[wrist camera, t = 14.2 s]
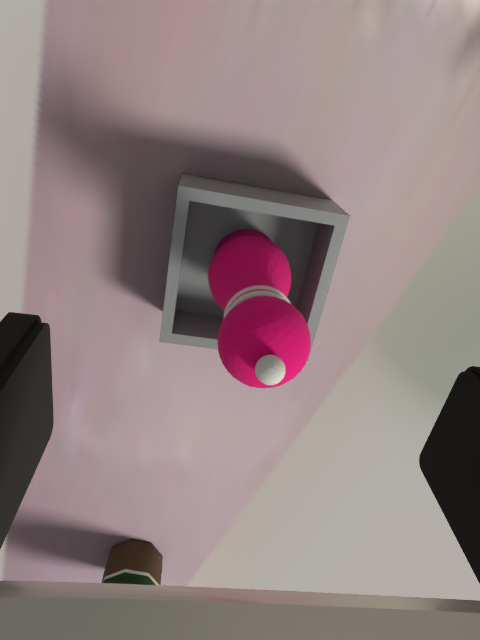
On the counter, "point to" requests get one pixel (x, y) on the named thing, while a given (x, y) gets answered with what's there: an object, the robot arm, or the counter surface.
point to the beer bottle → (133, 564)
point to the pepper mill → (257, 311)
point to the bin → (236, 214)
